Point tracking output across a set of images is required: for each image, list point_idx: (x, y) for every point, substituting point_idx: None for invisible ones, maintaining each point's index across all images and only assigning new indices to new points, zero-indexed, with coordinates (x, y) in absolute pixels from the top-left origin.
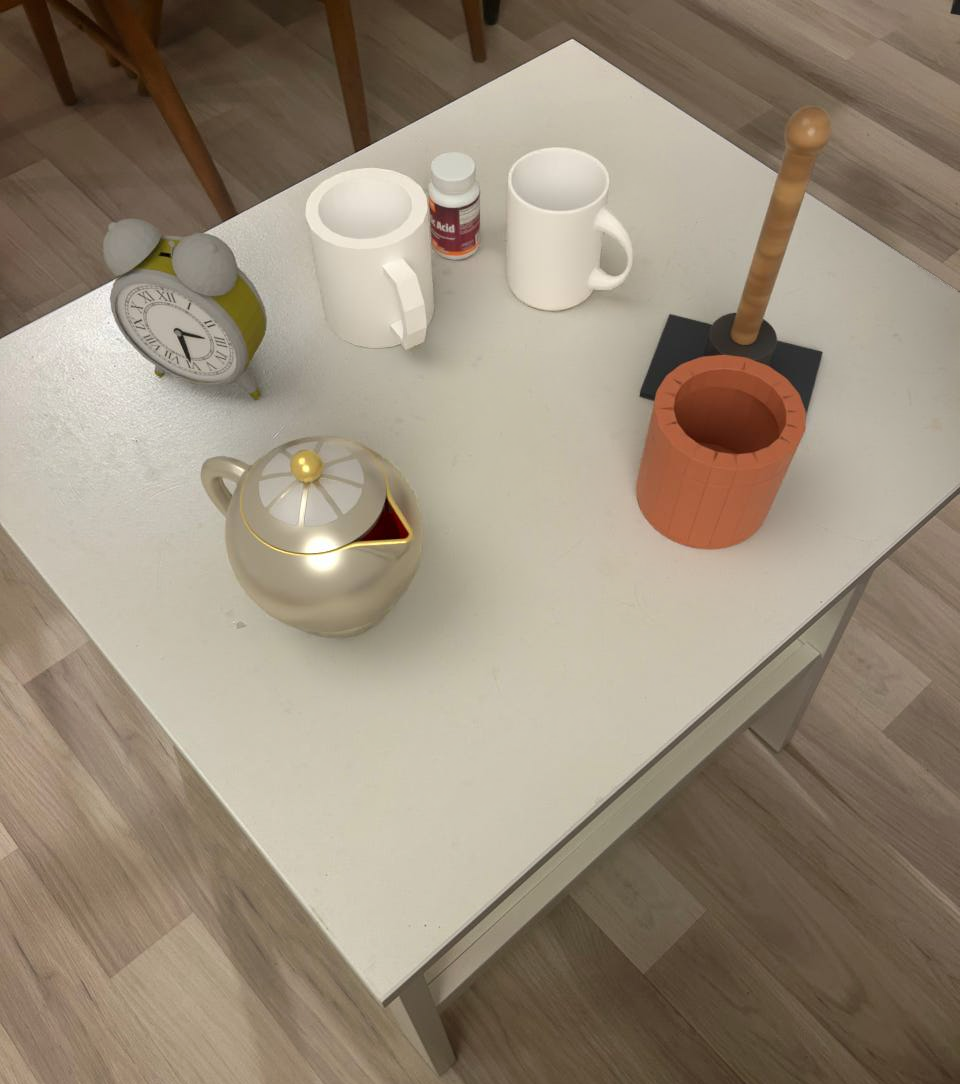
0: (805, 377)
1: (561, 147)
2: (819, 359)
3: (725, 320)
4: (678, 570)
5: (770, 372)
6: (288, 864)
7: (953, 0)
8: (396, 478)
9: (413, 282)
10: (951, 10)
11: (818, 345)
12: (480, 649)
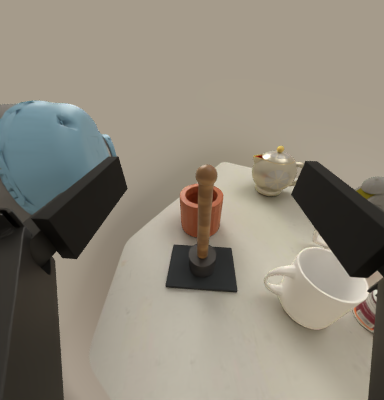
0: (172, 269)
1: (358, 302)
2: (167, 280)
3: (211, 260)
4: None
5: (192, 205)
6: (242, 166)
7: (119, 198)
8: (266, 164)
9: None
10: (126, 187)
11: (166, 294)
12: (234, 188)
